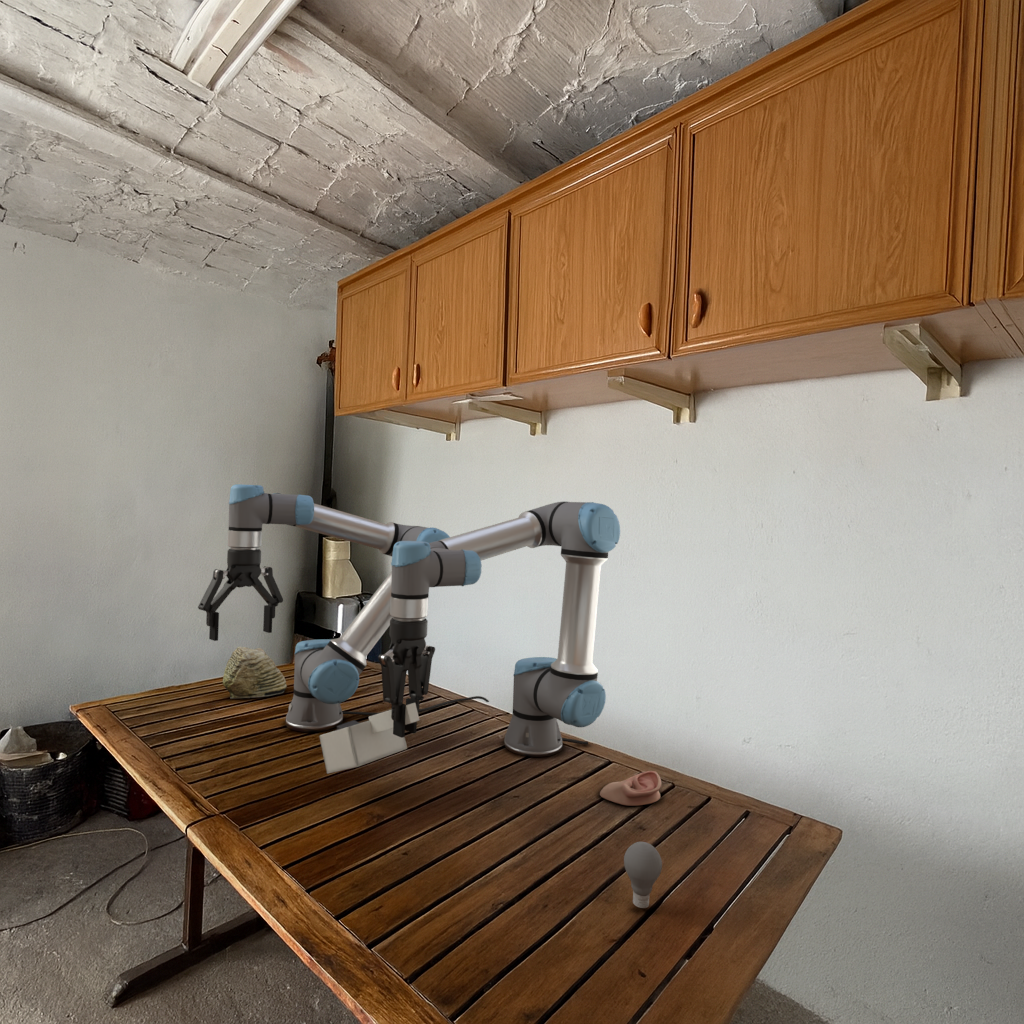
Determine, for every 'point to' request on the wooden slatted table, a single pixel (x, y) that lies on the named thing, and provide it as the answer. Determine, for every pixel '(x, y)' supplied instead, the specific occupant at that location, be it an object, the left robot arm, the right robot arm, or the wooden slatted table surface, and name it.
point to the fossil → (252, 674)
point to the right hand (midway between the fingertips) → (404, 733)
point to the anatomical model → (634, 790)
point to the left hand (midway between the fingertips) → (241, 635)
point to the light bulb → (642, 870)
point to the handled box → (364, 741)
